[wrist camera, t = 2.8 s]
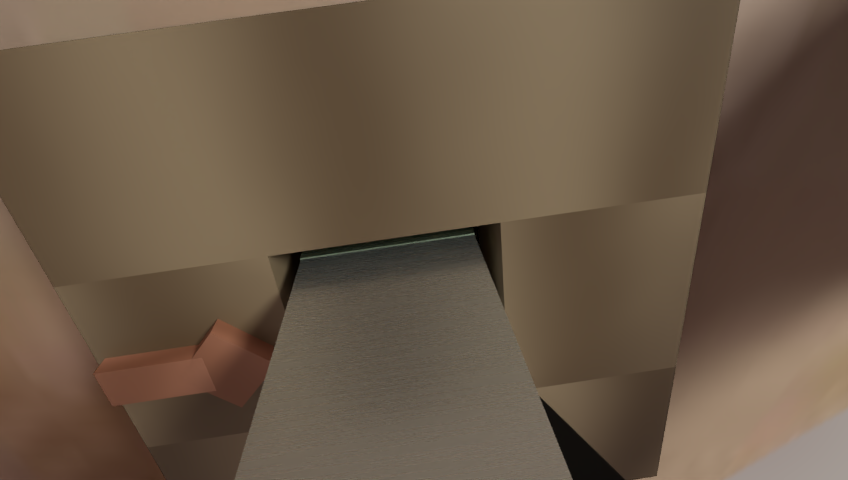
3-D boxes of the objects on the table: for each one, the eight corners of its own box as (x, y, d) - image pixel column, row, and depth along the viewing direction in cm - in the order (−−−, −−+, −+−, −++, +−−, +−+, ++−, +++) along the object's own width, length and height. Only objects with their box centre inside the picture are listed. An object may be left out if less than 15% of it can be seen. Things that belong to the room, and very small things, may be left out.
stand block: (656, -39, 11) (770, -54, 8) (613, 401, 17) (665, 491, 14) (38, 44, 10) (-107, 64, 7) (233, 460, 17) (199, 564, 14)
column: (466, 213, 12) (600, 541, 5) (477, 339, 14) (584, 710, 6) (306, 236, 12) (192, 608, 5) (339, 359, 14) (295, 757, 6)
